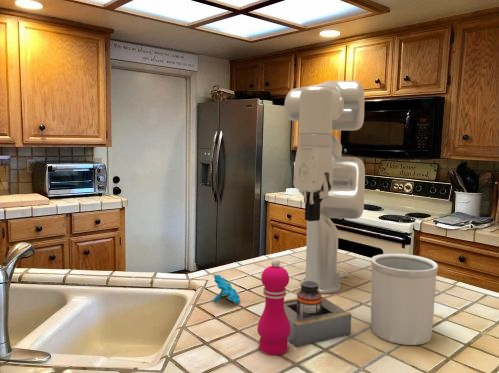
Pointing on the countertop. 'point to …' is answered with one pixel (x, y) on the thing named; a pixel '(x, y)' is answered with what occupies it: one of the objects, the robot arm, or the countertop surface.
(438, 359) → the countertop surface
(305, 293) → the supplement bottle
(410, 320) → the utensil holder
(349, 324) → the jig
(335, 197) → the robot arm
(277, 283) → the pepper mill
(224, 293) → the cyan jagged piece
